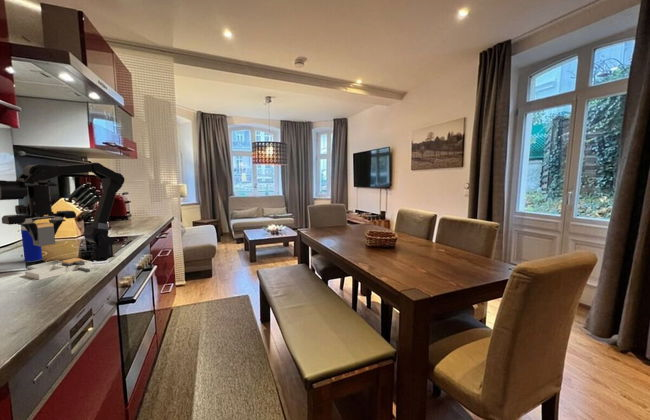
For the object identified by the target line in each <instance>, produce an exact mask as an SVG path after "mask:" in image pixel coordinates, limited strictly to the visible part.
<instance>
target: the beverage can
mask: <svg viewBox="0 0 650 420" xmlns="http://www.w3.org/2000/svg"><path fill="white" fill-rule="evenodd" d="M20 232H21V234H20V235H21V241H22V247H23V256H24V257H23V259H24V262H25V263H33V262H38V261H42V260H43V259H44V258H43V251H42V246H35V245H33V238H32V237H31V235H30V234H29V232H28V231H27V230H26V228H25V227H24V226H21V228H20Z"/></svg>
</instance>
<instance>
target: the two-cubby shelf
mask: <svg viewBox="0 0 650 420" xmlns="http://www.w3.org/2000/svg"><path fill="white" fill-rule="evenodd" d="M82 262H83V263H85V265H82V266H81V265H73V266H69V267H66V266H62V263H58V264H54V265H49V266H45V267H41V268H36V269H28V270H25V271H24V275H25V277H27V278H31V279H36V280H43V279H47V278H51V277H54V276H59V275H62V274H67V273H70V272H74V271H79V270H78V268H80V267H83V268H89V267H90V268H91V267H92V266H93V262H92V261H91V260H85V259H82Z"/></svg>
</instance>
